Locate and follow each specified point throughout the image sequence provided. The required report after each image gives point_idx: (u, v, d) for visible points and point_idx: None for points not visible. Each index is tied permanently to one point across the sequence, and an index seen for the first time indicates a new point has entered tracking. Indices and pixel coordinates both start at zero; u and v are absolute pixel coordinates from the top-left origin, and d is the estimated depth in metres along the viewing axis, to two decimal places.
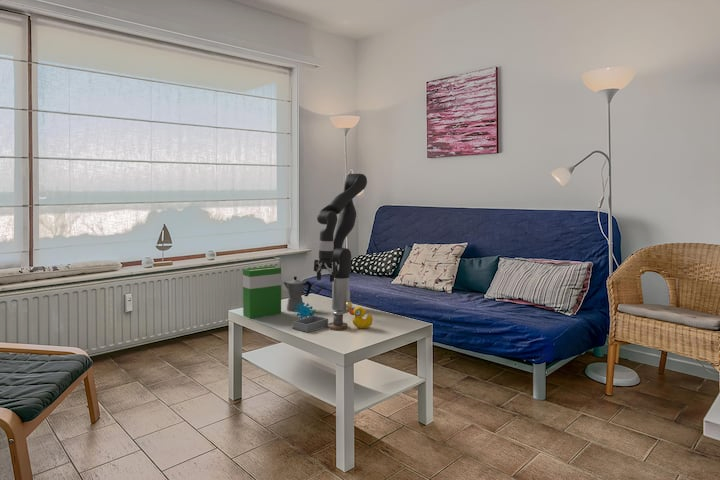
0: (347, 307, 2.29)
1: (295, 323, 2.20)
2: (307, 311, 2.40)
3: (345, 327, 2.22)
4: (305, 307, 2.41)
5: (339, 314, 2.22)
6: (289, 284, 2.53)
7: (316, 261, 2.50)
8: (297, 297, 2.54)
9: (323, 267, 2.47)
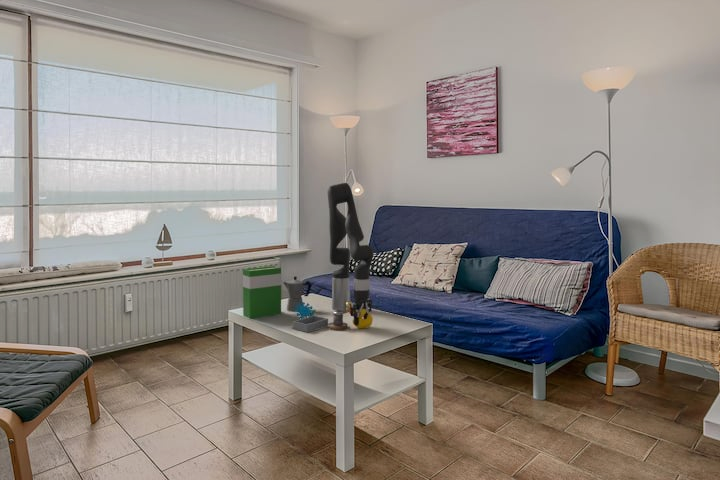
0: (347, 307, 2.29)
1: (295, 323, 2.20)
2: (307, 311, 2.40)
3: (345, 327, 2.22)
4: (305, 307, 2.41)
5: (339, 314, 2.22)
6: (289, 284, 2.53)
7: None
8: (297, 297, 2.54)
9: (362, 307, 2.23)
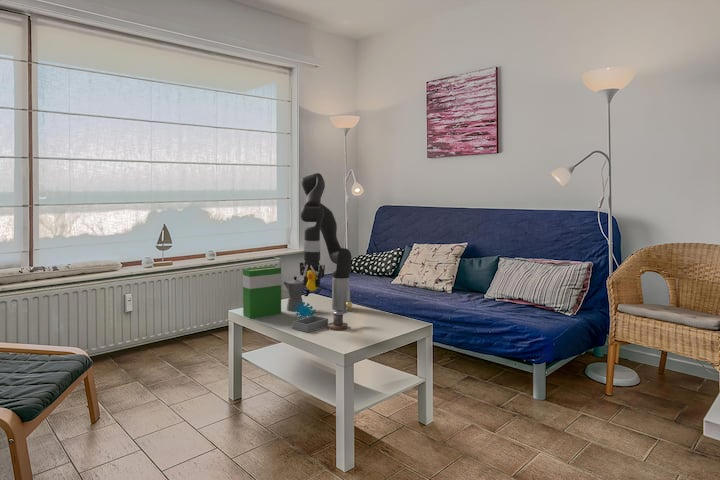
0: (347, 307, 2.29)
1: (295, 323, 2.20)
2: (307, 311, 2.40)
3: (345, 327, 2.22)
4: (305, 307, 2.41)
5: (339, 314, 2.22)
6: (289, 284, 2.53)
7: None
8: (297, 297, 2.54)
9: None
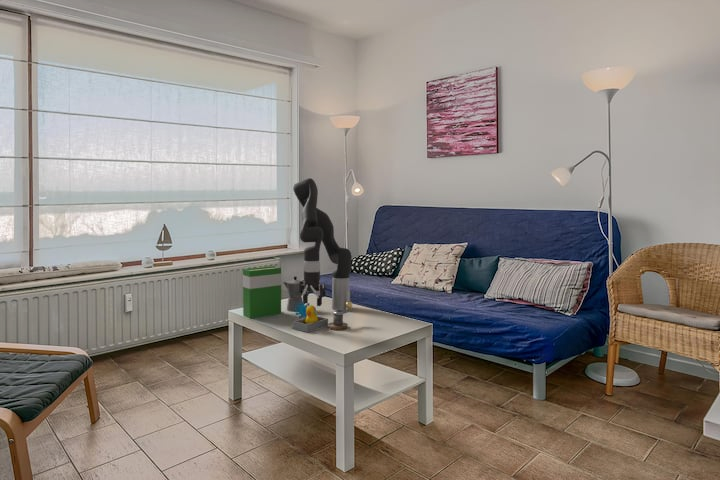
0: (347, 307, 2.29)
1: (295, 323, 2.20)
2: None
3: (345, 327, 2.22)
4: (305, 306, 2.42)
5: (339, 314, 2.22)
6: (289, 284, 2.53)
7: None
8: (297, 297, 2.54)
9: None
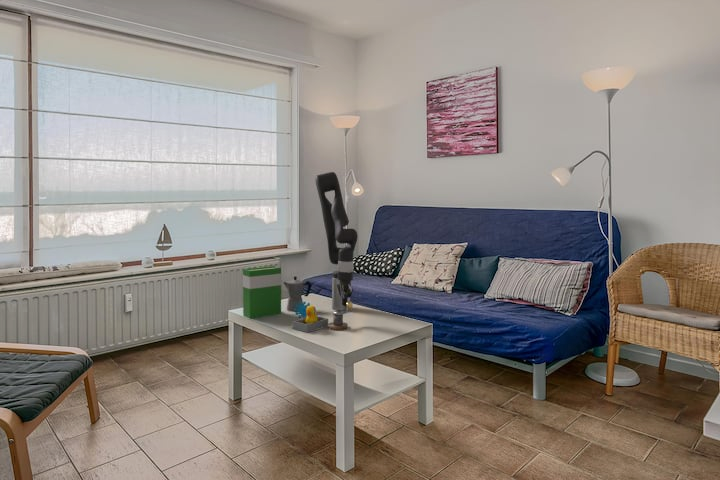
0: (347, 307, 2.29)
1: (295, 323, 2.20)
2: None
3: (345, 327, 2.22)
4: (305, 306, 2.42)
5: (339, 314, 2.22)
6: (289, 284, 2.53)
7: None
8: (297, 297, 2.54)
9: None
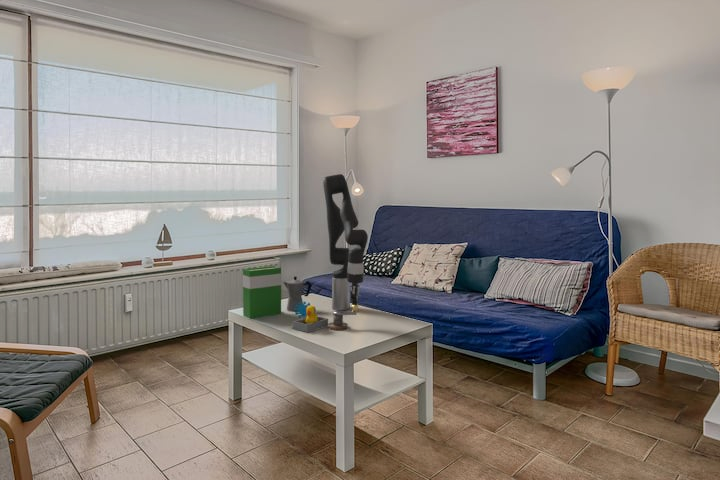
0: (352, 309, 2.24)
1: (295, 323, 2.20)
2: None
3: (345, 327, 2.22)
4: (305, 306, 2.42)
5: (335, 314, 2.22)
6: (289, 284, 2.53)
7: None
8: (297, 297, 2.54)
9: None
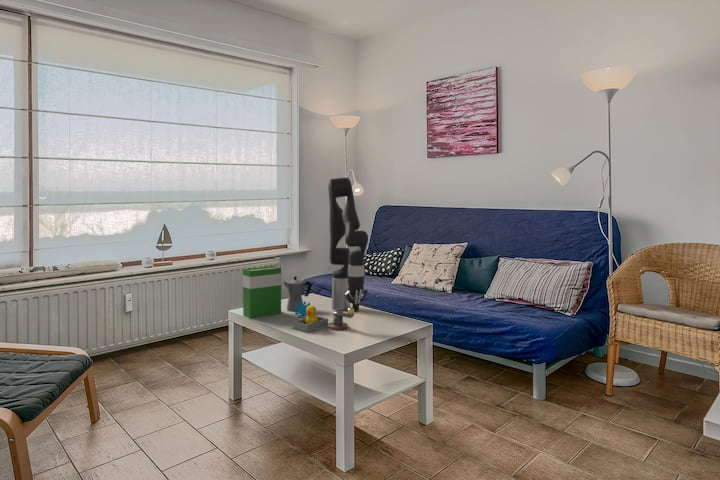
0: None
1: (295, 323, 2.20)
2: None
3: (345, 327, 2.22)
4: (305, 306, 2.43)
5: (333, 313, 2.23)
6: (289, 284, 2.53)
7: (348, 294, 2.16)
8: (297, 297, 2.54)
9: (358, 292, 2.20)
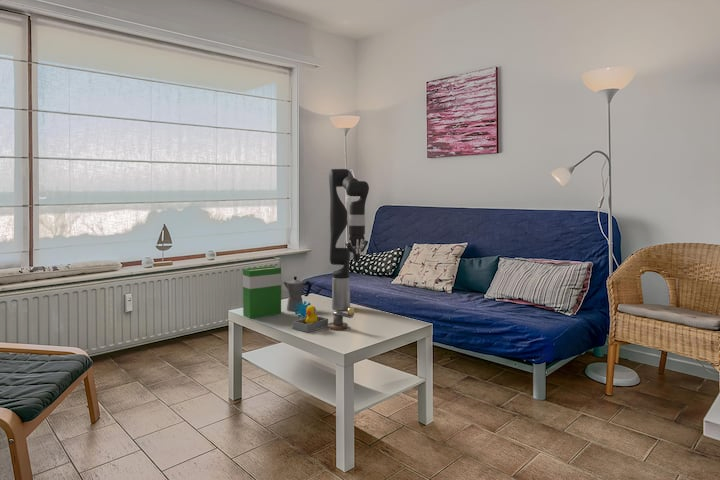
0: None
1: (295, 323, 2.20)
2: None
3: (345, 327, 2.22)
4: (305, 306, 2.43)
5: (333, 313, 2.23)
6: (289, 284, 2.53)
7: (349, 243, 2.19)
8: (297, 297, 2.54)
9: (359, 242, 2.23)
